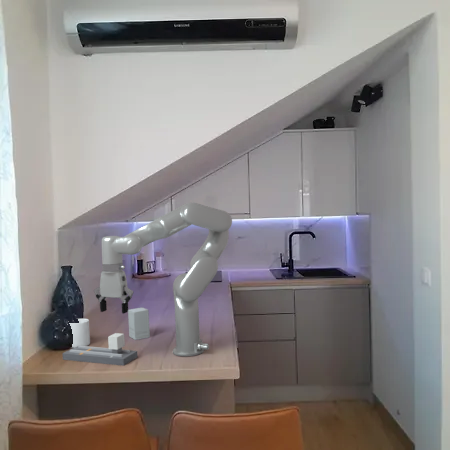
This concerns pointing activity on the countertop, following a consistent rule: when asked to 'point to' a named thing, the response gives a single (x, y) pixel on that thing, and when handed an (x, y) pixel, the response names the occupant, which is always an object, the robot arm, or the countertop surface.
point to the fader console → (99, 355)
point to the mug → (80, 333)
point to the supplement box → (138, 323)
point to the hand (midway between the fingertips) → (114, 312)
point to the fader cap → (116, 342)
